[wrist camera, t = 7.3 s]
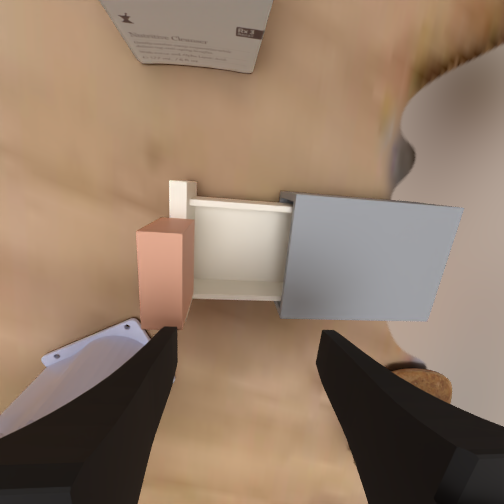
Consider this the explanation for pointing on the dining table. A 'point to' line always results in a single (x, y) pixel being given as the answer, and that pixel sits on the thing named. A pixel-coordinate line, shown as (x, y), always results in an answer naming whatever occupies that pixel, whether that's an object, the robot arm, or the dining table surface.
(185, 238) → the white pull-out drawer
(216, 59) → the skincare box
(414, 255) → the carton
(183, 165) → the dining table surface
